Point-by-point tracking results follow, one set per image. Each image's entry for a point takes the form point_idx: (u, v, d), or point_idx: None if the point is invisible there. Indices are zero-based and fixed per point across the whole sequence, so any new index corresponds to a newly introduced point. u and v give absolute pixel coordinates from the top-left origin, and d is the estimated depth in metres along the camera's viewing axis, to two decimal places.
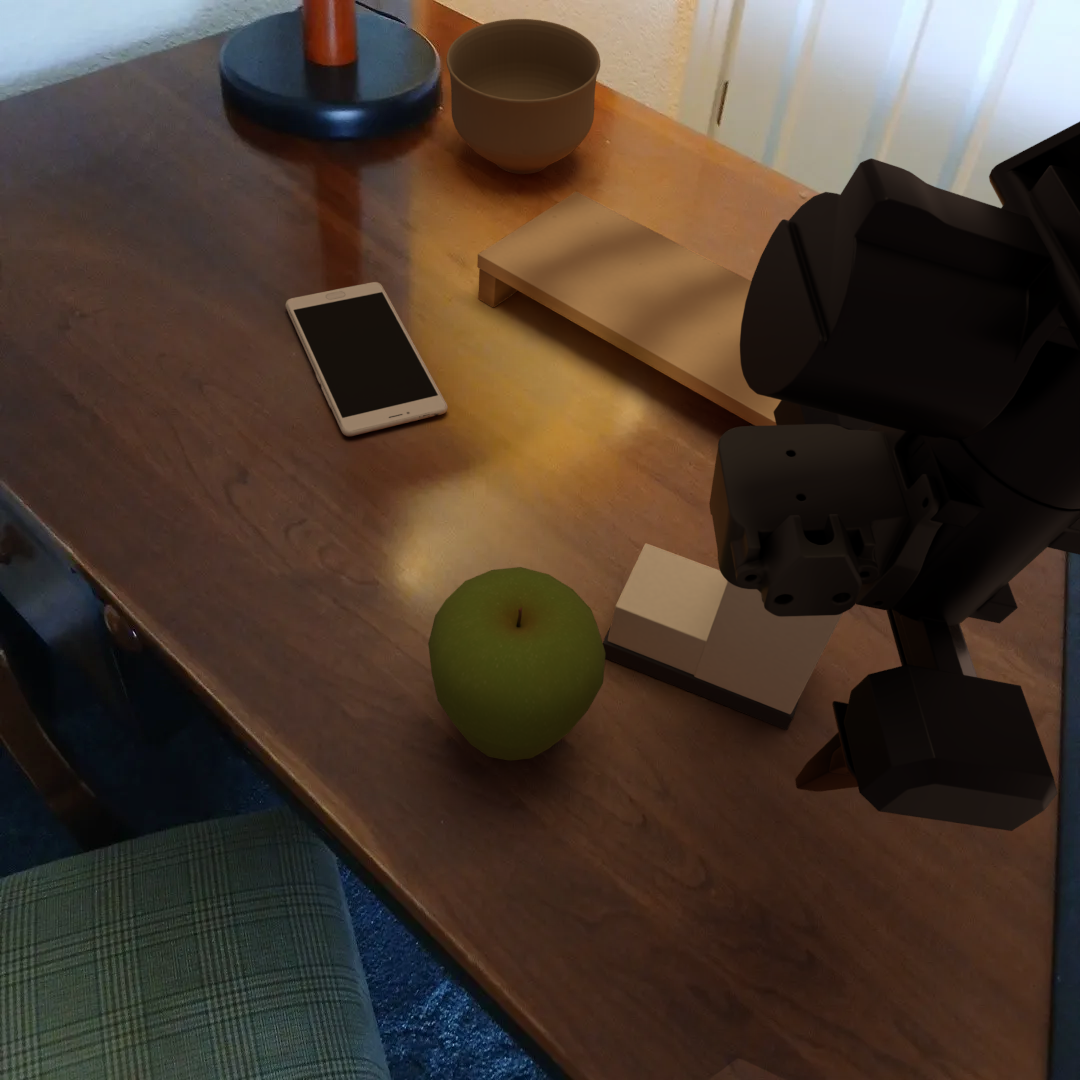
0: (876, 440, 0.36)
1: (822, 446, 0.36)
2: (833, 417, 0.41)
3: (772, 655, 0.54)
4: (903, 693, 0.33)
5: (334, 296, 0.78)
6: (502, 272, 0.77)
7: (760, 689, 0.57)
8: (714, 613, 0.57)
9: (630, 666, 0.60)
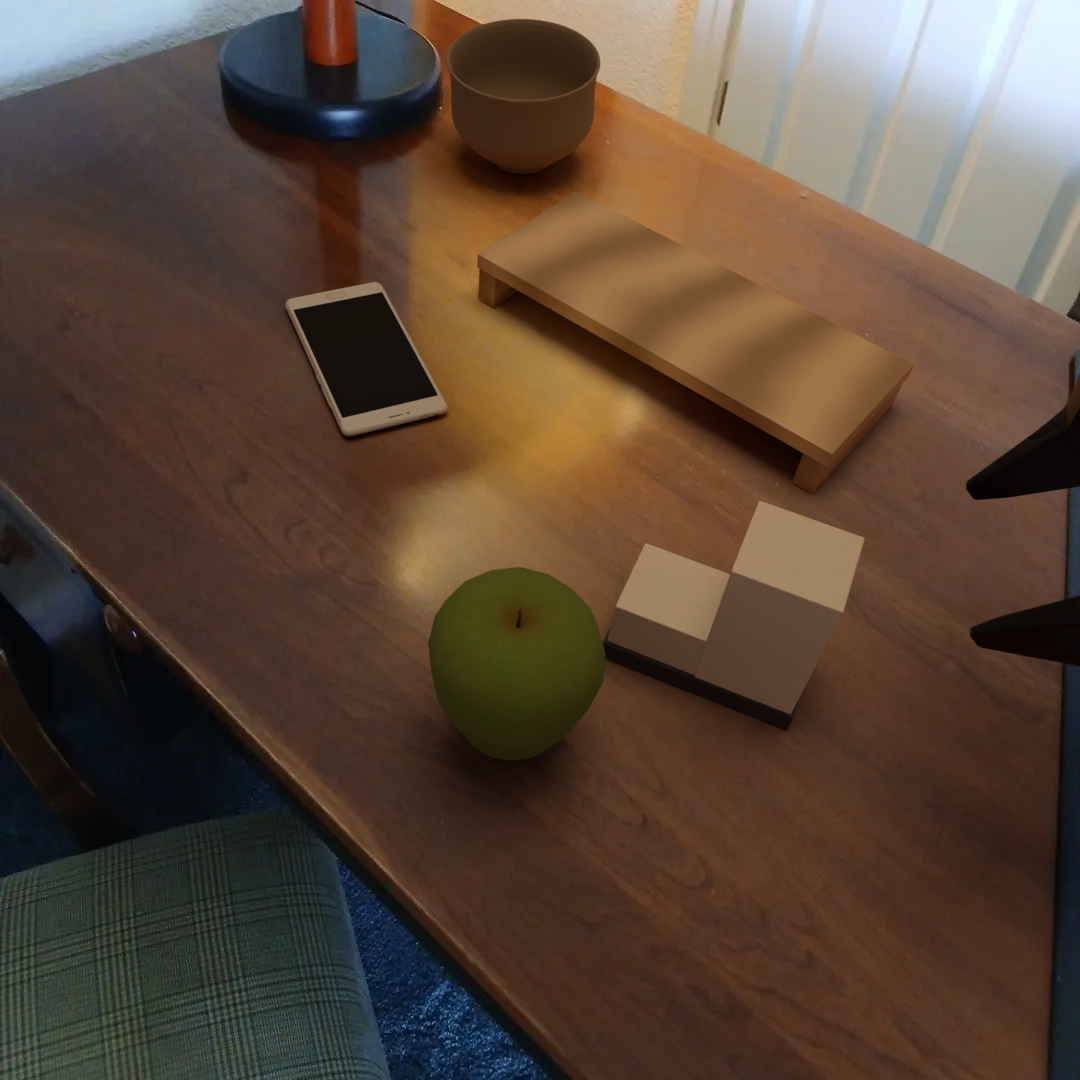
0: None
1: None
2: None
3: (772, 655, 0.54)
4: None
5: (334, 296, 0.78)
6: (502, 272, 0.77)
7: (760, 689, 0.57)
8: (714, 613, 0.57)
9: (630, 666, 0.60)
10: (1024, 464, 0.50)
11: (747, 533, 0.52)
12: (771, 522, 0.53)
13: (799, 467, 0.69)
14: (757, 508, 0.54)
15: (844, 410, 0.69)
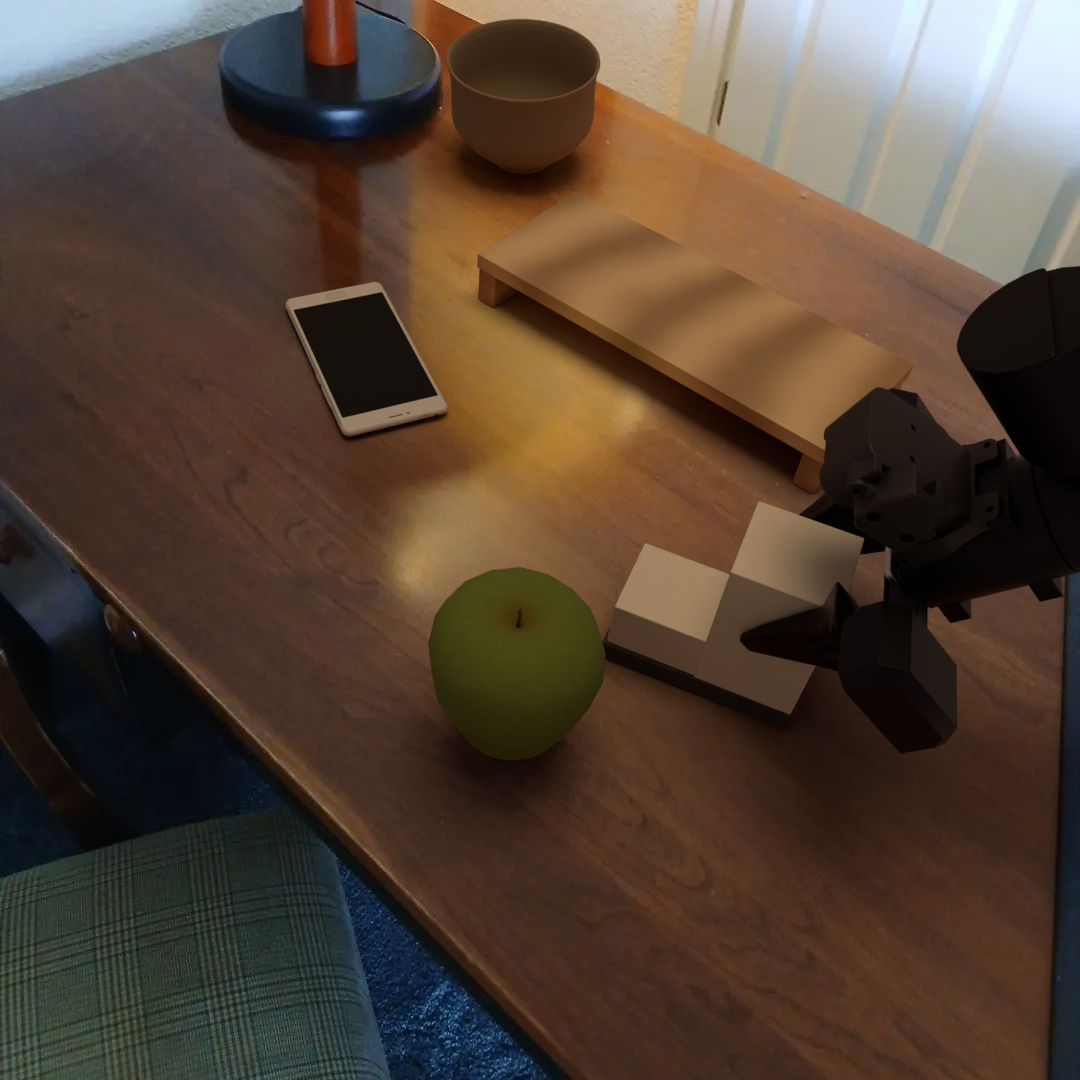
0: (964, 454, 0.47)
1: (932, 436, 0.46)
2: None
3: (771, 656, 0.54)
4: (902, 624, 0.44)
5: (334, 296, 0.78)
6: (502, 272, 0.77)
7: (760, 690, 0.57)
8: (713, 613, 0.57)
9: (630, 666, 0.60)
10: None
11: (746, 534, 0.52)
12: (770, 523, 0.53)
13: (799, 467, 0.69)
14: (756, 509, 0.54)
15: (844, 410, 0.69)
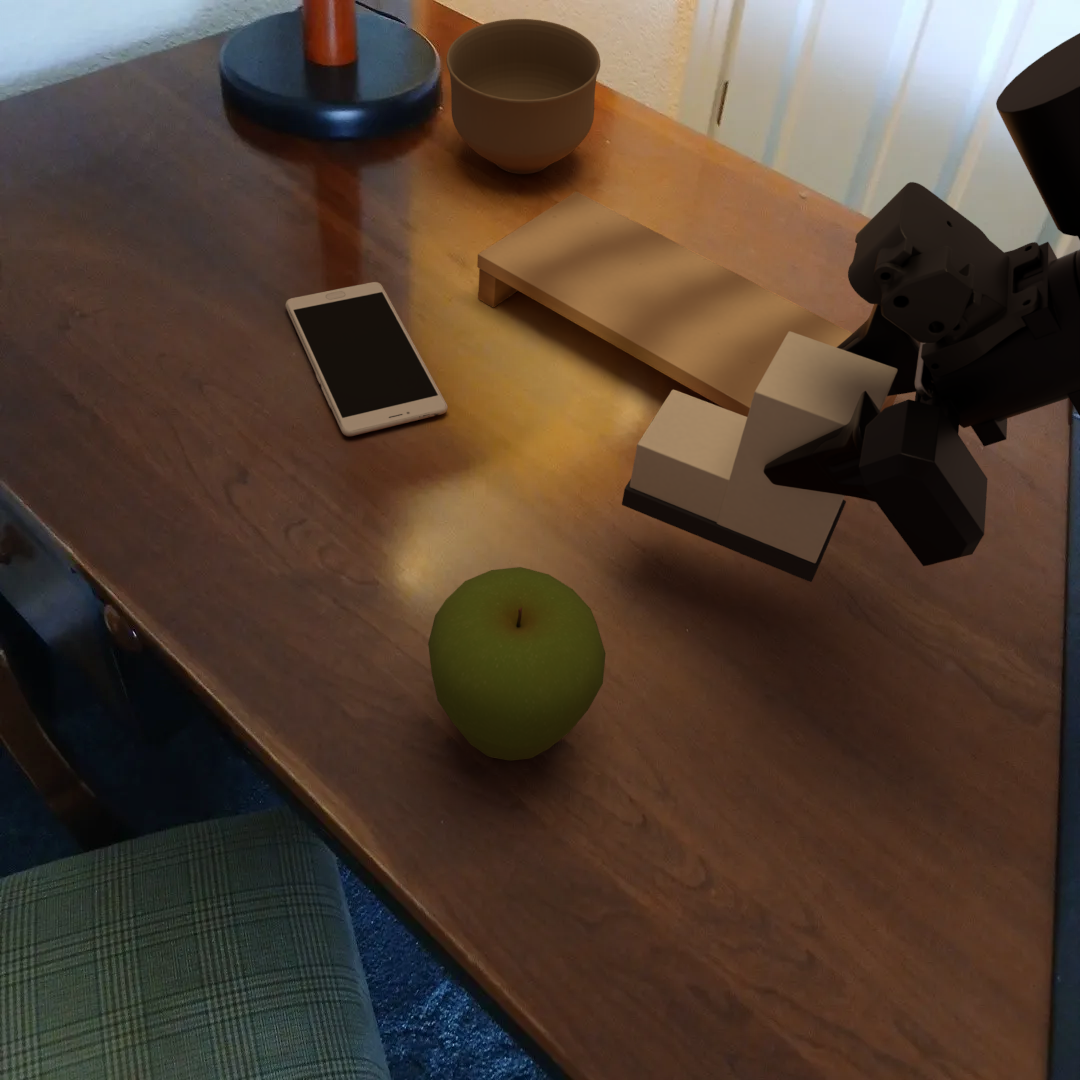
0: (1003, 258, 0.45)
1: (970, 235, 0.44)
2: None
3: (796, 492, 0.52)
4: (929, 420, 0.42)
5: (334, 296, 0.78)
6: (502, 272, 0.77)
7: (784, 535, 0.55)
8: None
9: (652, 515, 0.58)
10: None
11: (774, 359, 0.51)
12: (800, 350, 0.51)
13: None
14: (786, 337, 0.52)
15: None
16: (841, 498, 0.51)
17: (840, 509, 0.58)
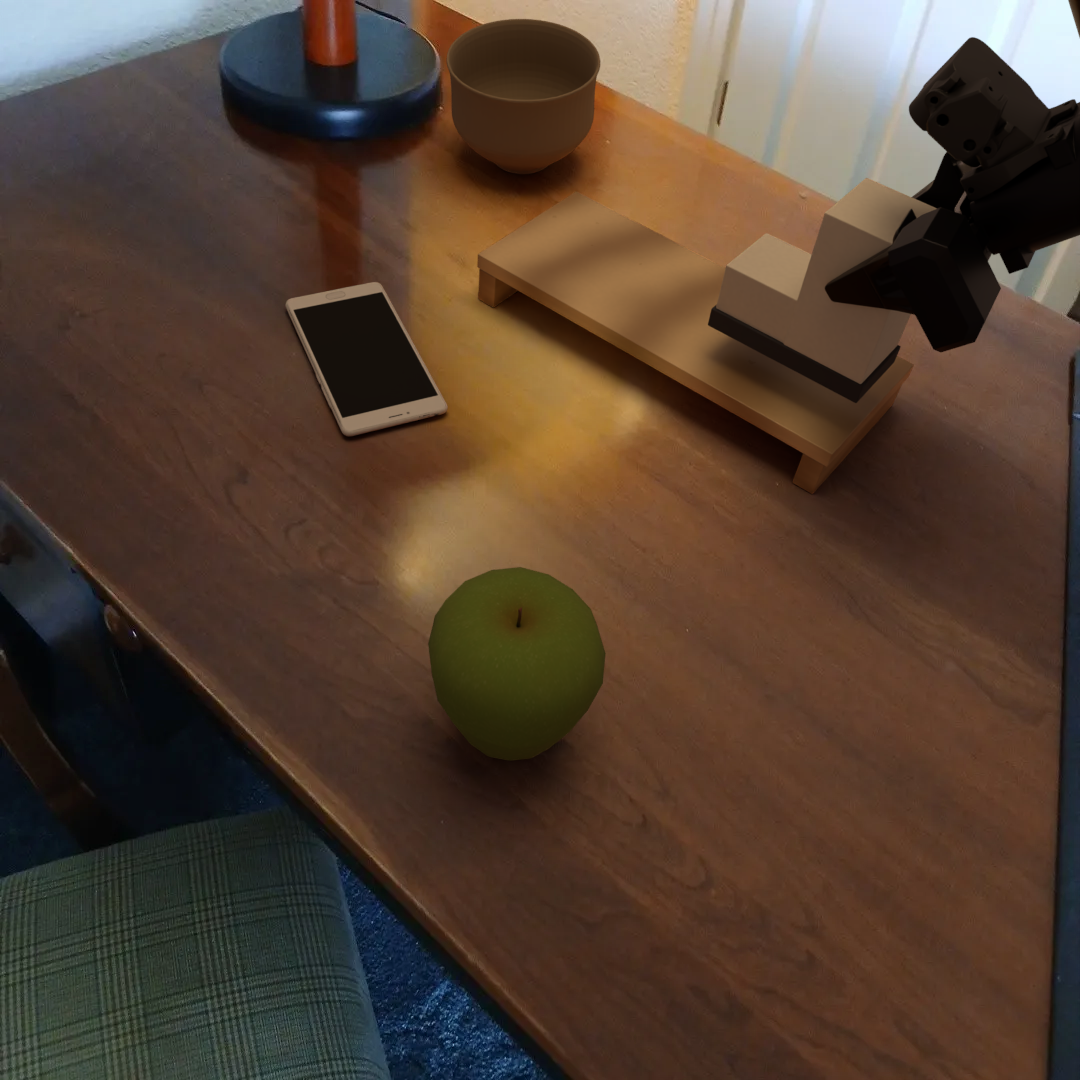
0: (1044, 110, 0.54)
1: (1017, 86, 0.54)
2: None
3: (850, 311, 0.62)
4: (953, 222, 0.52)
5: (334, 296, 0.78)
6: (502, 272, 0.77)
7: (837, 355, 0.65)
8: None
9: (731, 335, 0.69)
10: None
11: (847, 194, 0.61)
12: (871, 191, 0.61)
13: (799, 467, 0.69)
14: (862, 181, 0.62)
15: (844, 410, 0.69)
16: (886, 317, 0.61)
17: (893, 351, 0.67)
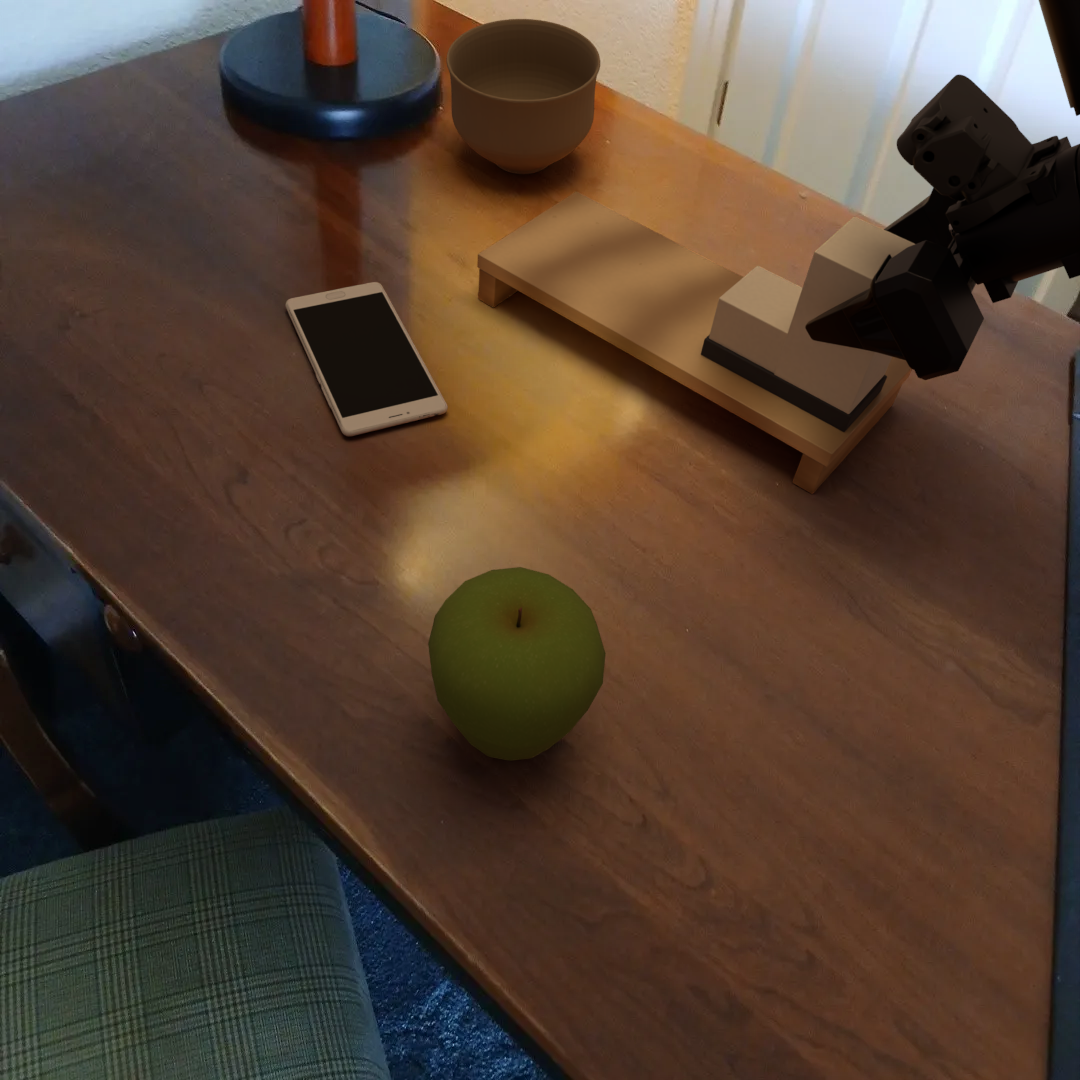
0: (1028, 145, 0.56)
1: (1002, 122, 0.55)
2: None
3: (839, 345, 0.64)
4: (937, 255, 0.54)
5: (334, 296, 0.78)
6: (502, 272, 0.77)
7: (826, 386, 0.67)
8: None
9: (723, 364, 0.71)
10: (895, 233, 0.66)
11: (836, 232, 0.63)
12: (859, 230, 0.63)
13: (799, 467, 0.69)
14: (850, 220, 0.64)
15: None
16: (873, 352, 0.63)
17: (880, 381, 0.69)
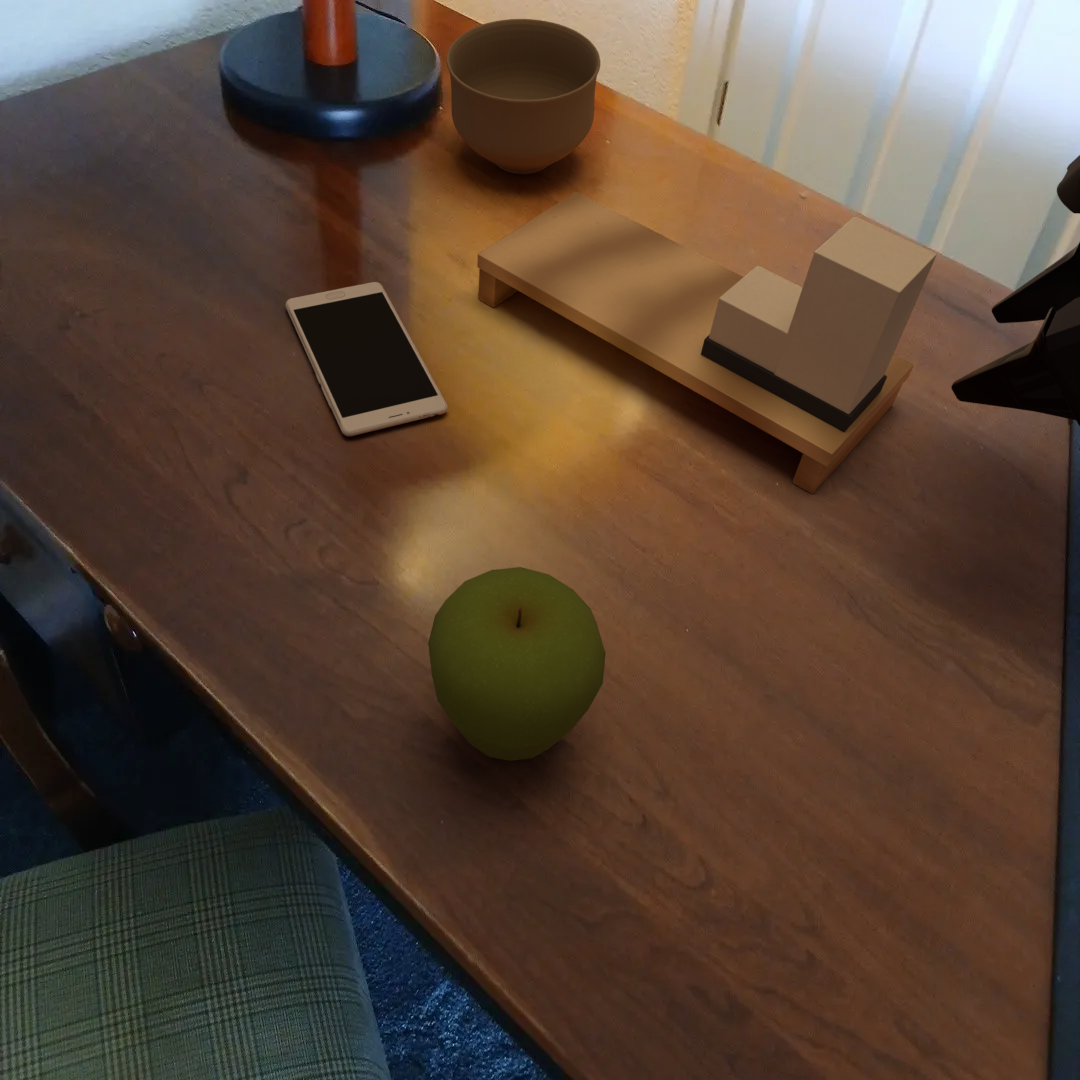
0: None
1: None
2: None
3: (839, 345, 0.64)
4: None
5: (334, 296, 0.78)
6: (502, 272, 0.77)
7: (826, 386, 0.67)
8: None
9: (723, 364, 0.71)
10: (1037, 289, 0.62)
11: (836, 232, 0.63)
12: (859, 230, 0.63)
13: (799, 467, 0.69)
14: (850, 220, 0.64)
15: None
16: (873, 352, 0.63)
17: (880, 381, 0.69)
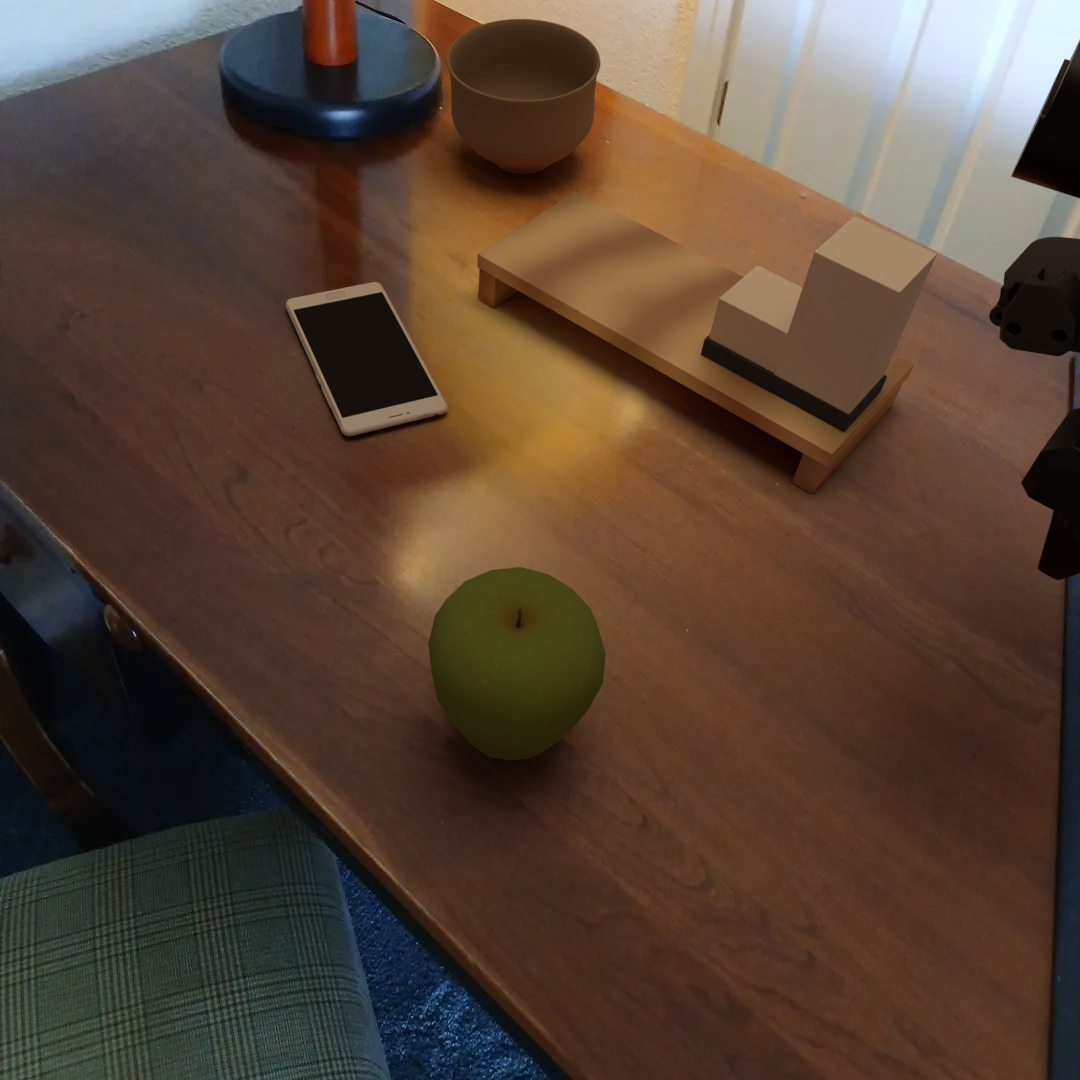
0: None
1: None
2: None
3: (839, 345, 0.64)
4: None
5: (334, 296, 0.78)
6: (502, 272, 0.77)
7: (826, 386, 0.67)
8: None
9: (723, 364, 0.71)
10: None
11: (836, 232, 0.63)
12: (859, 230, 0.63)
13: (799, 467, 0.69)
14: (850, 220, 0.64)
15: None
16: (873, 352, 0.63)
17: (880, 381, 0.69)
